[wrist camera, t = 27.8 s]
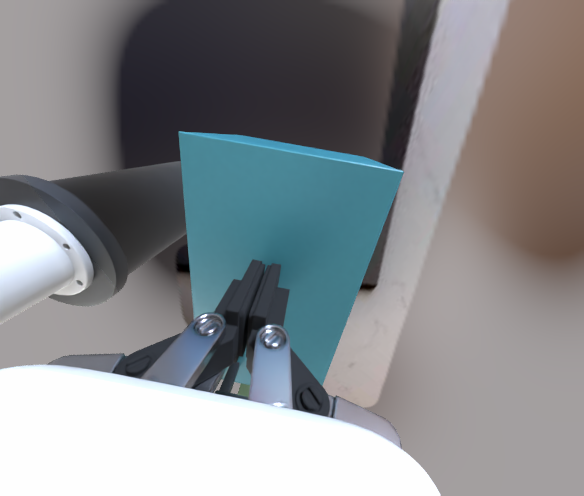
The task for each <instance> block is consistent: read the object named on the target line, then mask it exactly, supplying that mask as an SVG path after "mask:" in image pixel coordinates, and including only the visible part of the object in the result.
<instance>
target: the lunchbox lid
mask: <svg viewBox="0 0 584 496" xmlns="http://www.w3.org/2000/svg"><path fill="white" fill-rule="evenodd" d="M179 144H180V156H181V168H182V180H183V192H184V204H185V216H186V228H187V239H188V252H189V264H190V276H191V288H192V300H193V312H194V319H195V318H196V317H197V316H199V315H201V314H204V313H207V312H214V311H215V309H216V307H217V306H218V304H219V302H220V301H221V299H222V297H223V296H224V294H225V292H226V291H227V289H228V287H229V286H230V284H231V282H232V281H233V279H237V280H242V278H243V276H244V274H245V272H246V271H247V269H248V267H249V265H250V263H251V261H252V260H253V259H254V260H259V261H262V264H265V271H266V268H267V266H268V265H271V264H272V263H275V264H280V265H281V271H280V277H279V284H278V287H280V288H285V289H290V291H289V297H288V303H287V308H286V314H285V320H284V326H283V327H284V328H285V329H286V330H287V332H288V333H289V337H290V347H291V348H292V350H293V351H294V352H295V353H296V355H297V356H298V357H299V358H300V359H301V361H302V362H303V363H304V364H305V366H306V367H307V368H308V369H309V371H310V372H311V373H312V374H313V376H314V377H315V378H316V379H317V380H318V382H319V383H320V384H321V385H323V382H324V380H325V377H326V374H327V372H328V369H329V367H330V364H331V361H332V359H333V356H334V354H335V351H336V348H337V346H338V343H339V340H340V338H341V335H342V333H343V330H344V327H345V325H346V322H347V320H348V317H349V314H350V312H351V309H352V306H353V304H354V301H355V299H356V296H357V293H358V291H359V288H360V286H361V283H362V280H363V278H364V275H365V272H366V270H367V267H368V265H369V262H370V259H371V257H372V254H373V252H374V249H375V246H376V244H377V241H378V238H379V236H380V233H381V231H382V228H383V225H384V223H385V220H386V218H387V215H388V212H389V210H390V207H391V204H392V202H393V199H394V197H395V194H396V191H397V189H398V186H399V184H400V181H401V178H402V176H403V173H404V172H403V171H401V170H397V169H391V168H386V167H380V166H375V165H369V164H363V163H358V162H352V161H346V160H341V159H335V158H329V157H324V156H318V155H312V154H307V153H301V152H295V151H290V150H284V149H278V148H273V147H267V146H261V145H256V144H250V143H244V142H239V141H233V140H228V139H222V138H216V137H211V136H205V135H199V134H194V133H188V132H179ZM246 347H247V346H246ZM246 361H247V358H246V349H245V352H244V355H243V357H241V356H239V358H238V361H237V363H233V364H232V365H230V366H229V367H227V368H226V370H225V373H224V375H223V377H222V378H221V379H223V382H222V385H221V387H220V390H219V391H216V392H215V394H220V395H225V396H230V397H235V398H240V399H244V400H248V397H246V396H242V395H237V394H232V393H230V392H231V390H232V387H233V384H234V382H238V383H242V384H246V385H250V381H251V375H250V373H249V371H248V369H247V368H246Z"/></svg>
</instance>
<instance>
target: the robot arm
mask: <svg viewBox="0 0 584 496" xmlns="http://www.w3.org/2000/svg"><path fill="white" fill-rule="evenodd" d="M280 271H281V265H280V264H275V263H272V264H271V265H268V266H267V268H266V271H265V264H262V261H259V260H254V259H253V260H252V261H251V263H250V265H249V267H248V269H247V271H246V272H245V274H244V276H243V278H242V280H237V279H233V281H232V282H231V284H230V286H229V287H228V289H227V291H226V292H225V294H224V296H223V297H222V299H221V301H220V302H219V304H218V306H217V307H216V309H215V311H214V312H207V313H204V314H201V315H199V316H197V317H196V318H195V319H194V320H193V321H192V322H191V323H190V324H189V325H188V326H187V327H186V329H185V330H184V331H183V332H182V333H180V334H178V335H175V336H173V337H170V338H168V339H165V340H163V341H161V342H158V343H156V344H153V345H151V346H148V347H146V348H144V349H141V350H139V351H136V352H134V353H132V354H130V355H129V356H125V355H124V354H93V355H92V354H91V355H69V356H63V357H61V358H58V359H56V360H53V361H52V362H50V363H48V364H47V365H28V366H18V367H12V368H5V369H0V496H441V495H440V493H439V491H438V489H437V488H436V486H435V484H434V483H433V481H432V480H431V479H430V477H429V476H428V474H427V473H426V472H425V470H424V469H423V468H422V467H421V466H420V465H419V464H418V463H417V462H416V461H415V460H414V459H413V458H412V457H410V456H409V455H408V454H407V453H406V452H405V451H403V450H402V446H401V441H400V437H399V435H398V433H397V431H396V429H395V428H394V426H393V425H392V424H391V423H390V422H389V421H388V420H386V419H385V418H383V417H381V416H379V415H377V414H375V413H373V412H371V411H369V410H366V409H364V408H362V407H360V406H358V405H356V404H354V403H351V402H349V401H347V400H345V399H343V398H341V397H339V396H336V397H333V396H330V395H328V394H327V392H326V391H325V389H324V388H323V387H322V385H321V384H320V383H319V382H318V380H317V379H316V378H315V377H314V376H313V374H312V373H311V372H310V371H309V369H308V368H307V367H306V366H305V364H304V363H303V362H302V361H301V359H300V358H299V357H298V356H297V355H296V353H295V352H294V351H293V350H292V348H291V347H290V337H289V333H288V332H287V330H286V329H285V328H284V327H283V326H284V320H285V314H286V308H287V303H288V297H289V291H290V289H285V288H280V287H278V284H279V277H280ZM93 277H94V270H93V265H92V262H91V260H90V257H89V255H88V254H87V252H86V250H85V249H84V247H83V246H82V245H81V243H80V242H79V241H78V240H77V239H76V238H75V237H74V236H73V234H72V233H71V232H70V231H68V230H67V229H66V228H65V227H64V226H62V225H61V224H60V223H58V222H57V221H55V220H54V219H52V218H51V217H49V216H47V215H45V214H44V213H42V212H40V211H37V210H35V209H32V208H29V207H26V206H22V205H15V204H7V205H3V206H0V324H2V323H4V322H5V321H7V320H9V319H11V318H12V317H14V316H16V315H18V314H19V313H21V312H23V311H24V310H26V309H28V308H29V307H31V306H33V305H35V304H36V303H38V302H40V301H42V300H43V299H45V298H47V297H49V296H50V295H52V294H58V295H75V294H77V293H80V292H82V291H83V290H85V289H86V288H88V287H89V286H90V284H91V283H92V281H93ZM246 346H247V347H246ZM245 349H246V358H247V361H246V368H247V369H248V371H249V373H250V375H251V381H250V389H249V397H248V400H244V399H240V398H235V397H230V396H225V395H220V394H215V393H214V391H215V389H216V387H217V386H218V384H219V382H220V380H221V378H222V377H223V375H224V373H225V370H226V368H227V367H229V366H230V365H232V364H233V363H237V361H238V358H239V356H241V357H243V355H244V352H245Z"/></svg>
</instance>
